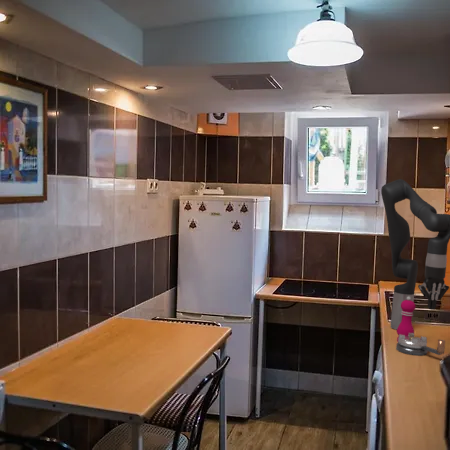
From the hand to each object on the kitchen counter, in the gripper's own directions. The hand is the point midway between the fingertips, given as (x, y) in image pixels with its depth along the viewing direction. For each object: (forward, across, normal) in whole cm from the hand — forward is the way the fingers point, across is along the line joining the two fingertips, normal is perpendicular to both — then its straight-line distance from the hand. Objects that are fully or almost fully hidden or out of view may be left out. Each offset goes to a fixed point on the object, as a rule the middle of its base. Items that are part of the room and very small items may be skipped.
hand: (431, 309), depth 215 cm
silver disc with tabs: (+20, -1, +9) cm, 22 cm away
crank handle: (+18, +1, +5) cm, 18 cm away
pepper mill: (+20, +4, +21) cm, 29 cm away
